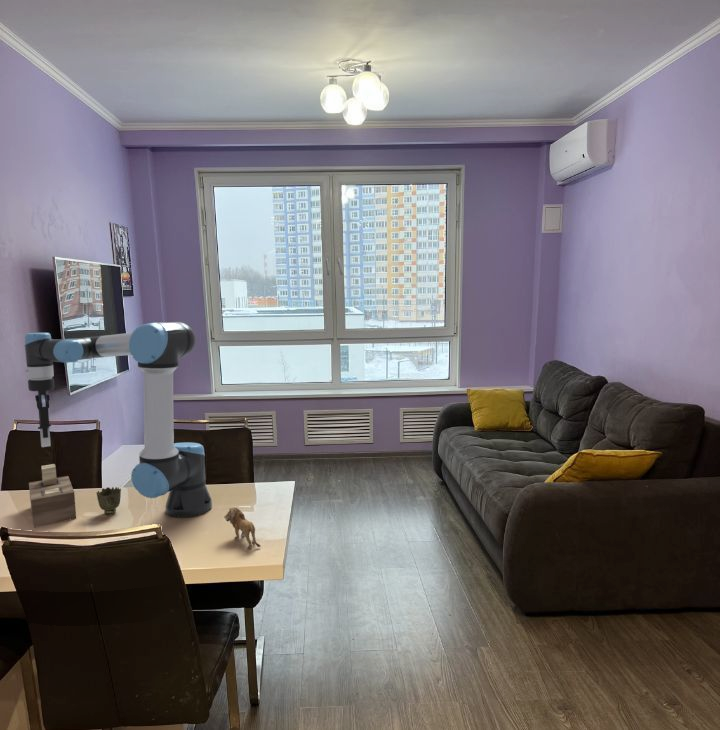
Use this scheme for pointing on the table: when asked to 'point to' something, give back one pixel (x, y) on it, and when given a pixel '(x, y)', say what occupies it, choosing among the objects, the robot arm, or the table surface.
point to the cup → (109, 499)
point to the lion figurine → (241, 525)
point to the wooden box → (52, 502)
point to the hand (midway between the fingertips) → (46, 446)
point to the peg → (49, 474)
